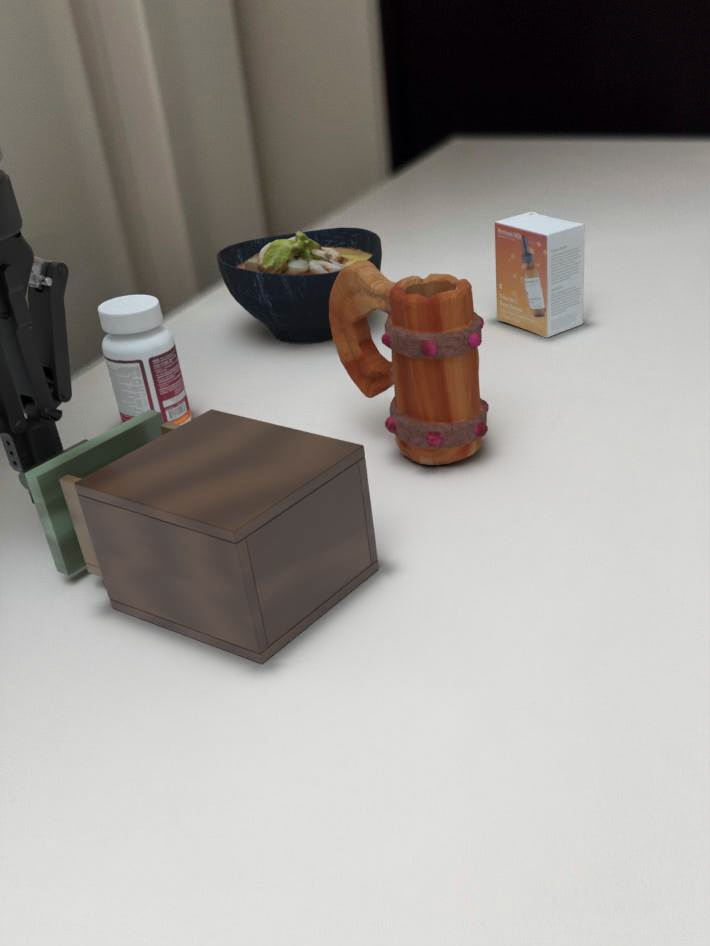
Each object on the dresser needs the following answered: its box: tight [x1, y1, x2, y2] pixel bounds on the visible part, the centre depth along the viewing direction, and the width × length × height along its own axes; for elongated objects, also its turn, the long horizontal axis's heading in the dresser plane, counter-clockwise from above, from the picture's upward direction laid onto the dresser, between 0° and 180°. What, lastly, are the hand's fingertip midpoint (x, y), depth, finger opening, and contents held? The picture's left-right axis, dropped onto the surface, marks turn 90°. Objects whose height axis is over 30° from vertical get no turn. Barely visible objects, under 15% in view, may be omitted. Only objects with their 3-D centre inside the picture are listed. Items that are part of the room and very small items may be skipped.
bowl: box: [216, 227, 383, 344], centre depth 112 cm, size 17×17×10 cm
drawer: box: [18, 410, 181, 578], centre depth 75 cm, size 18×11×8 cm, turn 59°
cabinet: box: [74, 408, 380, 664], centre depth 71 cm, size 14×13×10 cm
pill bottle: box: [97, 294, 192, 425], centre depth 93 cm, size 6×6×11 cm
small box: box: [494, 211, 586, 339], centre depth 111 cm, size 8×6×10 cm
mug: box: [329, 260, 490, 466], centre depth 86 cm, size 15×8×15 cm, turn 56°
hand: (52, 502), depth 81 cm, fingers closed
